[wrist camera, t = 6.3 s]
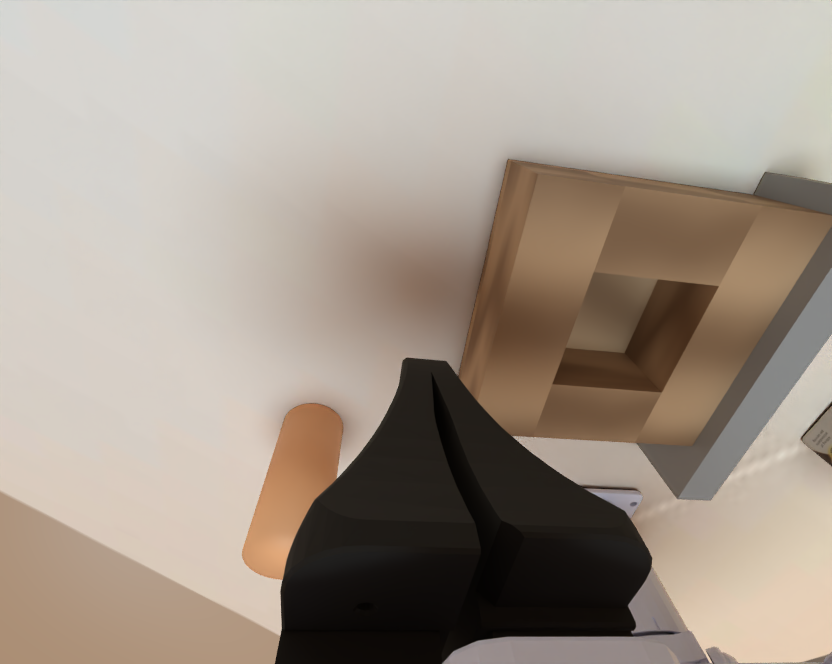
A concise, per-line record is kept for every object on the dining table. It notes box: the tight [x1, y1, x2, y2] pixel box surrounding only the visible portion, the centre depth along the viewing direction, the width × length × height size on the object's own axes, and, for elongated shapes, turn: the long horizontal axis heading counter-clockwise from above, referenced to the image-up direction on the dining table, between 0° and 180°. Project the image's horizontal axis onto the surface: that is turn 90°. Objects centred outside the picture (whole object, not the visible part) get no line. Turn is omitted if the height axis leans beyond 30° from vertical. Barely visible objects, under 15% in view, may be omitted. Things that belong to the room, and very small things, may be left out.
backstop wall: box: [637, 172, 832, 500], centre depth 20 cm, size 16×2×5 cm, turn 172°
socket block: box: [458, 159, 832, 446], centre depth 19 cm, size 12×12×4 cm
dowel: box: [242, 404, 343, 580], centre depth 21 cm, size 4×4×8 cm
